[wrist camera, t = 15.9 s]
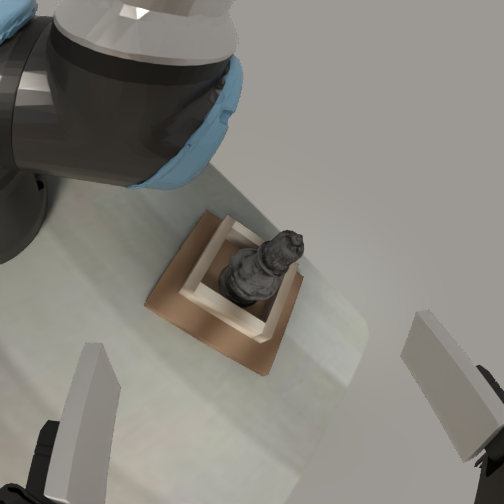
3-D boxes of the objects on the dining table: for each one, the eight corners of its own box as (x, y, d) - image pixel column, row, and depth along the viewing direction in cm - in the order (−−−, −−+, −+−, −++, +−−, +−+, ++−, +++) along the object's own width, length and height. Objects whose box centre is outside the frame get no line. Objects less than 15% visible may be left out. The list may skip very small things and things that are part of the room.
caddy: (143, 305, 31) (150, 294, 28) (203, 215, 40) (213, 199, 37) (262, 376, 34) (280, 372, 31) (298, 280, 42) (314, 269, 40)
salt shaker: (223, 313, 34) (285, 270, 25) (210, 263, 36) (263, 204, 27) (268, 306, 37) (337, 264, 28) (255, 260, 39) (315, 207, 30)
